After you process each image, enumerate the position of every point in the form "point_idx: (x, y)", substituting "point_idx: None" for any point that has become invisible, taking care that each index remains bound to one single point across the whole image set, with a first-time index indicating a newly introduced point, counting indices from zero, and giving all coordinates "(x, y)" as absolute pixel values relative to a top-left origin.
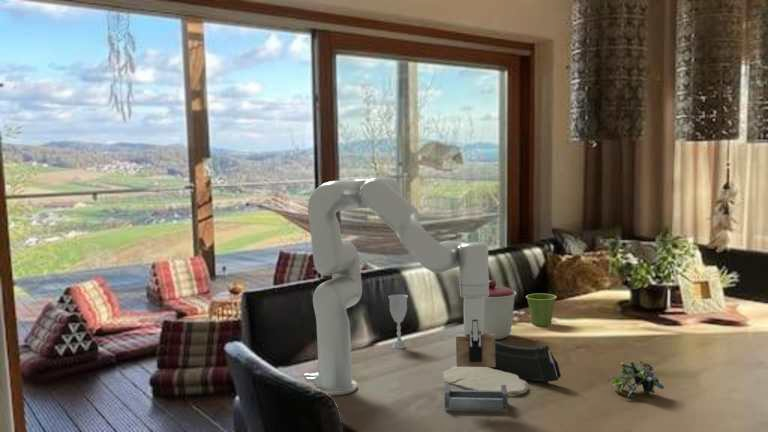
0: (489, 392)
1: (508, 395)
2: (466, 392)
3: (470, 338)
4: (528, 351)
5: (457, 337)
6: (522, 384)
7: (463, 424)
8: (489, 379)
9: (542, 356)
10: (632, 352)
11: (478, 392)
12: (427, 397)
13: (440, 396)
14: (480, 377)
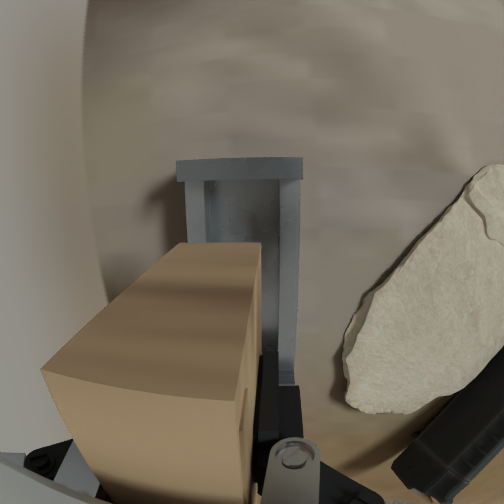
0: (278, 334)
1: (343, 368)
2: (280, 248)
3: (59, 473)
4: (480, 456)
5: (56, 379)
6: (392, 407)
7: (98, 229)
8: (460, 319)
9: (435, 483)
10: (495, 490)
11: (279, 295)
12: (334, 91)
13: (349, 139)
14: (481, 291)
